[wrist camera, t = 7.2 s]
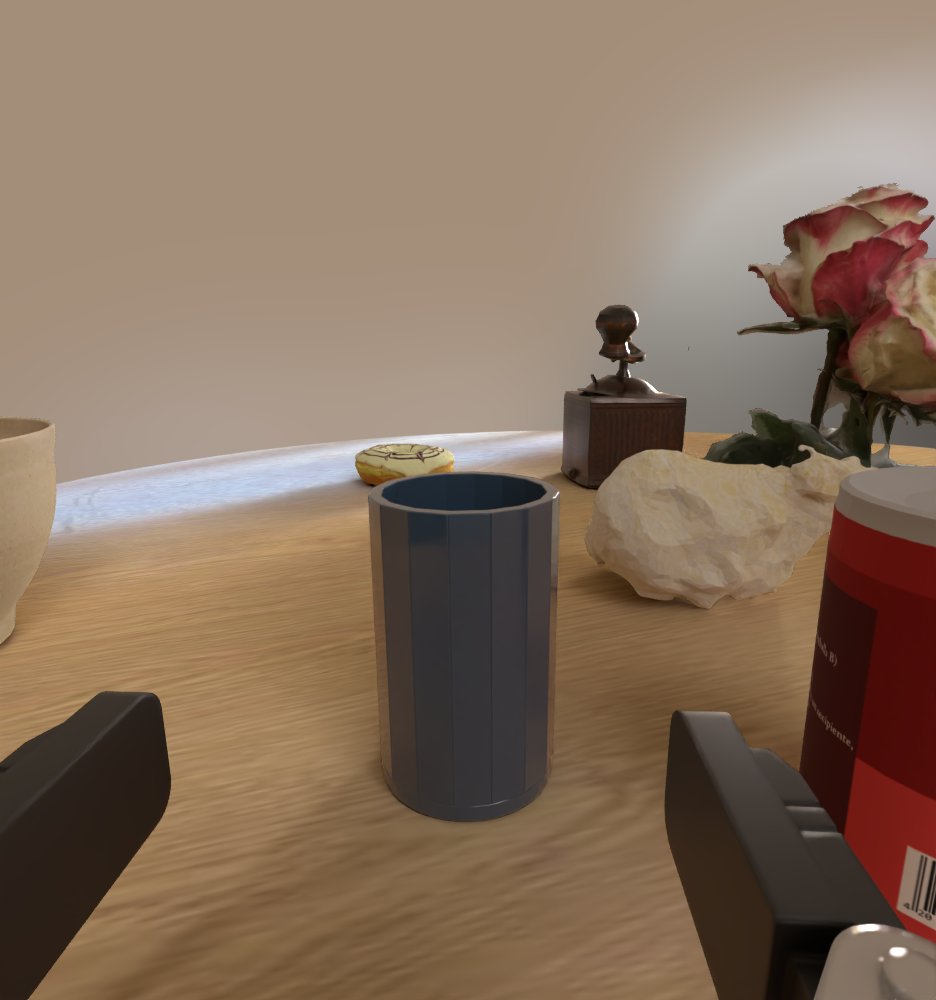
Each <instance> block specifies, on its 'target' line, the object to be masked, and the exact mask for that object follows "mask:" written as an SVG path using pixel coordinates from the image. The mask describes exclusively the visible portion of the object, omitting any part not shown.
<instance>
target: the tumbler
mask: <svg viewBox="0 0 936 1000" xmlns="http://www.w3.org/2000/svg"><path fill="white" fill-rule="evenodd" d="M368 503H369V523H370V543H371V563H372V583H373V603H374V623H375V643H376V664H377V684H378V704H379V724H380V744H381V759H382V762H383V773H384V778H385V780H386V783H387V785H388V787H389V788H390V790H391V791H392V793H393V794H394V795H395V796H396V797H397V798H398V799H399V800H400V801H401V802H403V803H404V804H405V805H407V806H408V807H410V808H412V809H413V810H415V811H417V812H420V813H422V814H424V815H427V816H431V817H434V818H438V819H443V820H448V821H458V822H474V821H484V820H489V819H494V818H498V817H502V816H505V815H508V814H510V813H513V812H515V811H517V810H519V809H521V808H523V807H524V806H526V805H528V804H529V803H530V802H532V801H533V800H534V799H535V798H536V797H537V796H538V795H539V794H540V793H541V792H542V790H543V789H544V787H545V786H546V784H547V782H548V780H549V778H550V774H551V765H552V755H553V748H554V708H555V667H556V627H557V586H558V546H559V505H560V492H559V491H558V490H557V488H556V487H555V486H554V485H553V484H551V483H548V482H545V481H542V480H539V479H536V478H533V477H527V476H521V475H515V474H508V473H507V474H506V473H494V472H444V473H443V472H441V473H431V474H421V475H414V476H408V477H403V478H399V479H394V480H390V481H387V482H385V483H382V484H380V485H378V486H376V487H373V488H372V489H371V492H370V494H369V497H368Z"/></svg>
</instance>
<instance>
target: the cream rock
mask: <svg viewBox="0 0 936 1000" xmlns="http://www.w3.org/2000/svg"><path fill="white" fill-rule="evenodd" d="M798 448H799V450H800V451H804V450H805V449H807V450H808V451H809V452H810V453H811V457H810V458H809V459H807V460H805V461H803V462H801V463H797V464H793V465H792V467H791V468H788V467H785V466H782V465H780V466H777V467H775V468H771V467H770V466H767V465H764V464H757V465H745V464H739V465H736V464H724V463H717V462H712V461H708V460H704V459H699V458H697V457H695V456H692V455H689V454H686V453H683V452H680V451H671V450H663V449H659V450H645V451H642V452H640V453H637V454H635V455H633V456H631V457H629V458H627V459H624V460H623V461H622V462H621V463H620V464H619V465H618V467H617V468H616V469H615V470H614V471H613V472H612V474H611V475H610V476H609V477H608V478H607V479H606V480H605V481H604V482H603V483H602V484H601V486H600V487H599V489H598V492H597V494H596V497H595V500H594V505H593V512H592V517H591V521H590V524H589V525H588V526H587V532H586V535H585V544H586V548H587V551H588V553H589V554H590V556H592V557H593V559H594V560H595V561H596V562H597V564H598V565H599V564H606V565H607V567H608V568H609V569H610V570H611V571H613V572H614V573H616V574H619V575H620V576H622V577H623V578H625V579H626V580H627V581H628V582H629V583H630V584H631V585H632V586H633V587H634V589H635V591H636V592H637V594H638V595H639V596H642V597H647V598H652V599H657V600H673V599H674V598H675V597H676V598H682V599H688V600H689V601H690V602H691V603H693V604H694V605H696V606H697V607H699V608H706V609H710V608H711V607H712V606H713V605H714V604H715V603H716V602H717V601H718V600H719V599H720V598H721V597H723V596H725V595H730V596H732V597H733V598H734V599H735V600H742V599H744V598H750V599H751V598H753V597H756V596H758V595H761V594H765V593H766V592H769V593H775V592H776V591H778V589H779V587H780V585H782V584H783V583H784V582H786V581H787V580H788V579H789V578H790V576H791V575H792V574H793V569H794V565H795V564H796V563H797V562H798V561H799V560H800V559H801V558H802V557H804V556H805V555H807V554H808V552H809V550H810V549H811V547H812V545H813V544H814V543H815V541H816V540H817V539H818V538H819V537H820V536H822V535H823V534H825V533H827V532H829V531H830V530H831V525H832V517H833V510H834V503H835V500H836V498H837V496H838V494H839V486H840V482H841V481H842V480H843V479H844V478H845V477H847V476H850V475H853V474H855V473H859V472H862V471H868V470H873V469H878V468H875V467H872V468H866V467H864V466H862V465H861V464H860V459H859V458H858V457H855V456H851V457H847V458H844V459H842V460H837V459H834V458H831V457H828V456H826V455H823V454H820V453H817V452H816V451H815V450H814V448H812V447H809V446H806V445H800V446H799V447H798Z"/></svg>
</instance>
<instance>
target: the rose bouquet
mask: <svg viewBox="0 0 936 1000" xmlns="http://www.w3.org/2000/svg"><path fill="white" fill-rule="evenodd" d="M897 186H898V185H896V183H893V184H887V185H879V186H878V187H871V188H867V189H861V190H859V192H858V193H855V194H852V197H846V198H843V199H840V200H838V203H835V204H832V205H828V206H827V207H823V208H821V209H817V210H815V211H813V212H812V211H811V213H809V214H808V215H807V216H806V215H805V216H803V217H799V218H798V219H794V220H793V221H791V222H790V223H788V224H786V225H784V226H783V228H784V229H783V234H784V239H785V241H784V245H785V246H787V247H789V248H790V251H792V253H790V254H789V255H787V256H786V258H787V259H785V260H784V261H783V262H782V263H781V265H772V264H770V263H768V264H752V265H749V266H748V269H749V270H748V271H753V272H756V273H757V278H764V279H765V280H766V282H767V283H768V285H769V288H770V294H771V296H772V298H773V299H774V300H775V301H776V303H777V304H778V305H779V306H781V308H782V309H783V311H784V312H785V313H786V315H787V317H794V321H792V322H778V323H772V324H763V325H757V326H752V327H748V328H745V329H742V330H739V331H738V332H737V333H738V335H744V334H749V333H754V332H765V333H779V334H798V333H804V332H808V331H812V330H818V329H828V330H829V333H828V341H827V356H826V359H825V366H824V369H822V368H820V369H818V370H821V371H822V372H821V373H820V375H819V378H818V383H817V387H816V390H815V393H814V396H813V400H814V401H813V407H812V411H811V424H810V423H807V422H804V421H799V420H793V419H790V420H782V419H780V418H779V417H778V416H777V415H775V414H773V413H771V412H769V411H767V412H766V411H765V410H763V409H762V408H755V409H753V410H750V411H749V412H748V413H749V414H750V415H751V416H752V428H753V429H754V430H755V431H756V433H757V435H756V436H754V435H753V434H752V435H751V434H747V433H743V432H741V433H738V434H735V435H733V436H732V437H731V438H728V439H726V440H724V441H719V442H718V443H717V442H716V443H715V444H714V443H713V444H712V445H711V447H710V449H709V451H708V453H707V456H706V457H704V458H703V459H704V460H708V461H712V462H717V463H724V464H736V465H739V464H745V465H757V464H764V465H767V466H770V467H771V468H775V467H777V466H780V465H782V466H785V467H788V468H791V467H792V465H793V464H797V463H801V462H803V461H805V460H807V459H809V458H810V457H811V453H810V452H809V451H808V450H807V449H805V450H804V451H800V450H799V448H798V447H799V446H800V445H806V446H809V447H812V448H814V450H815V451H816V452H817V453H820V454H823V455H826V456H828V457H831V458H834V459H837V460H842V459H844V458H847V457H851V456H855V457H858V458H859V459H860V464H861V465H862V466H864V467H866V468H872V467H875V468H878V469H881V468H891V467H910V466H917V465H908V464H899V463H896V462H895V461H893V460H892V459H891V458H889V450H890V445H889V440H890V434H891V431H892V427H893V423H894V420H895V418H896V415H899V416H901V417H902V418H903V419H904V421H905V424H906V425H907V424H908V422H907V421H906V420H905V418H904V417H905V416H906V415H905V414H903V413H902V412H901V410H906V411H907V412H908V413H909V415H910V416H911V417H912V419H913V421H914V423H915V425H916V426H919V425H922V424H933V425H935V426H936V258H923V257H924V255H925V254H926V253H927V250H928V244H927V243H926V242H925V241H923V240H918V239H919V237H920V235H921V234H922V233H923V232H924V231H925V230H926V229H927V228H928V227H929V225H930V224H931V222H932V221H933V220H934V219H935V217H934V216H933V215H920V214H918V212H919V211H920V210H922V209H924V208H925V207H926V206H927V205H928V200H927V199H926V198H925V197H922V196H919V195H917V194H914V191H913V190H900V189H898V187H897ZM858 188H862V187H858ZM862 202H864V203H862ZM688 350H689V347H688ZM841 402H842V403H843V405H844V407H845V408H846V411H845V412H844V413H843V415H842V423H841V425H840V426H839V427H838V428H837V429H832V428H828V427H826V426H825V425H824V424H823V415H824V413H825V412H826V411H827V410H828V409H830V408H832V407H834V406H835V405H837V404H839V403H841ZM877 417H879V418H880V424H881V430H882V433H883V436H884V438H885V446H884V448H883V449H881V450H880V451H878V452H876V453H875V454H871V444H872V442H873V440H872V431H873V427H874V425H875V422H876V419H877Z"/></svg>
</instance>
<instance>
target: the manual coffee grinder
mask: <svg viewBox="0 0 936 1000" xmlns="http://www.w3.org/2000/svg"><path fill="white" fill-rule="evenodd" d="M637 324H638V316H637V313H636V312H635V311H634V310H632V309H631V308H629V307H628V306H625V305H613V306H608V307H606V308H605V309H603V310H602V311H600V313H599V316H598V318H597V320H596V328H597V330H598V331H599V333H600V334H601V336H602V339H603V341H604V344H603V346H602V349H601V350H600V352H599V355H601V356H604V357H606V358H609V359H611V361H612V362H615V361H616V360H620V364H619V370H618V372H617V374H616V375H607V376H606V377H603V378H601V379H599V380H596V378H595V377H594V375H593V374H591V378H592V381H593V383H591V384H590V385H589V386H588V387H586V388H580V389H578V390H579V391H566V393H565V396H564V397H565V398H564V428H563V463H562V467H561V470H562V471H563V472H564V473H565V474H566V475H567V476H568V477H569V478H570V479H571V480H574V481H575V482H577V483H579V484H581V485H584V486H586V487H589V488H599V487H600V486H601V484H602V483H603V482H604V481H605V480H606V479H607V478H608V477H609V476H610V475H611V474H612V472H613V471H614V470H615V469H616V468H617V467H618V465H619V464H620V463H621V462H622V461H623V460H624V459H627V458H629V457H631V456H633V455H635V454H637V453H640V452H642V451H645V450H659V449H663V450H671V451H680V452H682V448H683V438H684V426H685V414H686V398H684V397H680V396H676V395H671V394H667V393H661V392H657V391H656V390H655V389H654V388H653V387H652V386H651V385H650V384H649V383H647V382H645V381H644V380H641V379H639V378H636V377H630V374H629V371H628V363H631V364H633V363H639V362H642V361H644V360H645V358H646V353H645V352H644V351H643V350H641V349H640V348H638V347H637V346H635V345H634V344H632V342H631V340H632V338H631V334H632V333H633V332H634V331H635V330H636V329H637ZM629 353H630V354H629ZM631 354H632V355H631Z"/></svg>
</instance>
